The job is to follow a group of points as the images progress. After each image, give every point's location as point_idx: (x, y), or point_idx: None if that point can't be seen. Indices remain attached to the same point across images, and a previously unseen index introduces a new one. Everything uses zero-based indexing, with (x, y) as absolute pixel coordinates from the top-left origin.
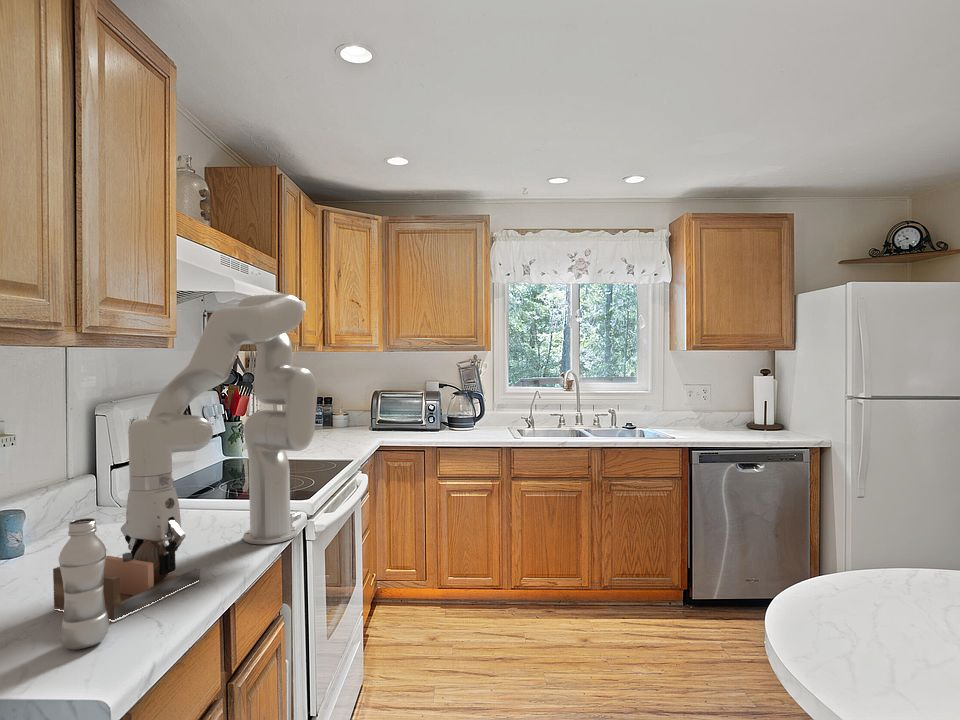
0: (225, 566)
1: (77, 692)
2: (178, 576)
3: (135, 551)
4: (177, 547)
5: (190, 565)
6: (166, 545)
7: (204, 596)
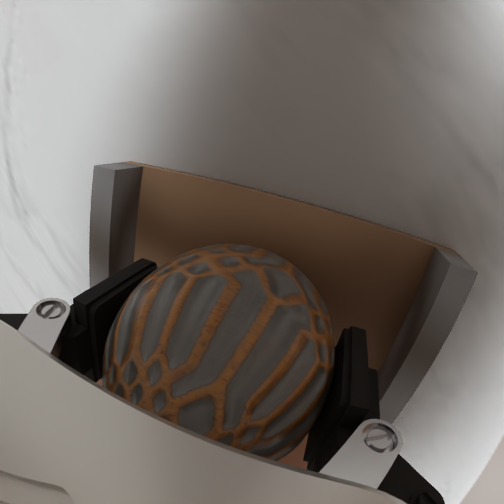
0: (467, 50)
1: None
2: (406, 370)
3: (101, 373)
4: (412, 475)
5: (279, 39)
6: (276, 415)
7: (500, 372)
